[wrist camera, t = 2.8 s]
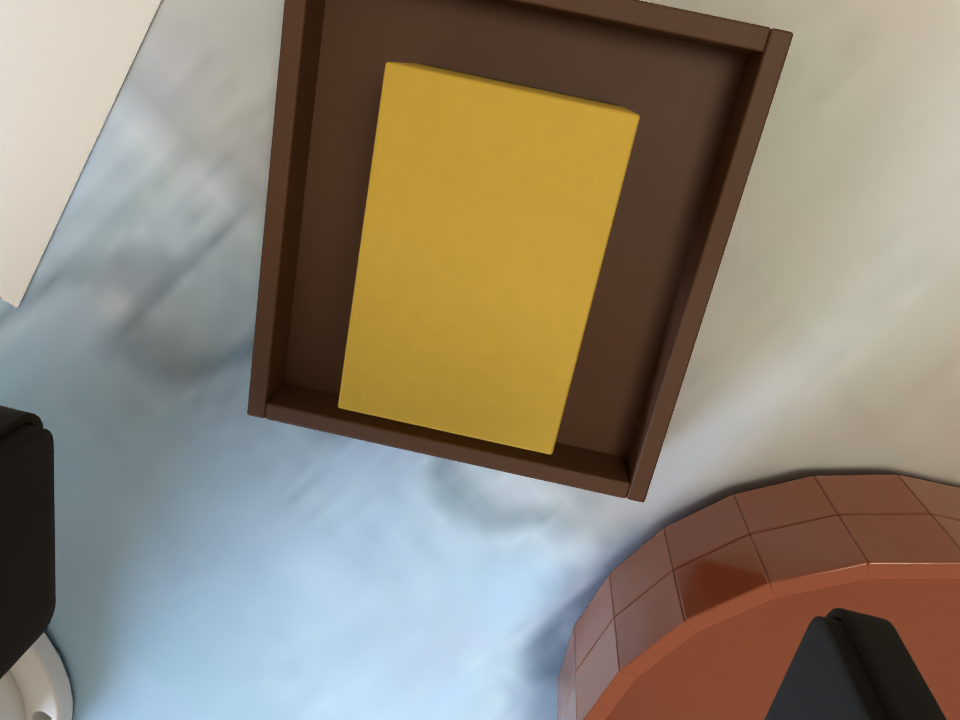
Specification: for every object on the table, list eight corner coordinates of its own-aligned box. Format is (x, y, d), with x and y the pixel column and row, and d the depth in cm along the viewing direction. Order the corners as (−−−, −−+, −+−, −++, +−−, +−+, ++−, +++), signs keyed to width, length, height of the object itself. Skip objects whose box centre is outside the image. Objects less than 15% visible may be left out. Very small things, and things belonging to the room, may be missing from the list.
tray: (271, 388, 27) (246, 415, 25) (316, -58, 22) (290, -72, 20) (637, 469, 27) (644, 503, 25) (771, 36, 22) (794, 32, 19)
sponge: (377, 347, 26) (337, 408, 21) (421, 63, 22) (385, 61, 18) (553, 385, 25) (552, 456, 21) (624, 105, 22) (640, 115, 17)
